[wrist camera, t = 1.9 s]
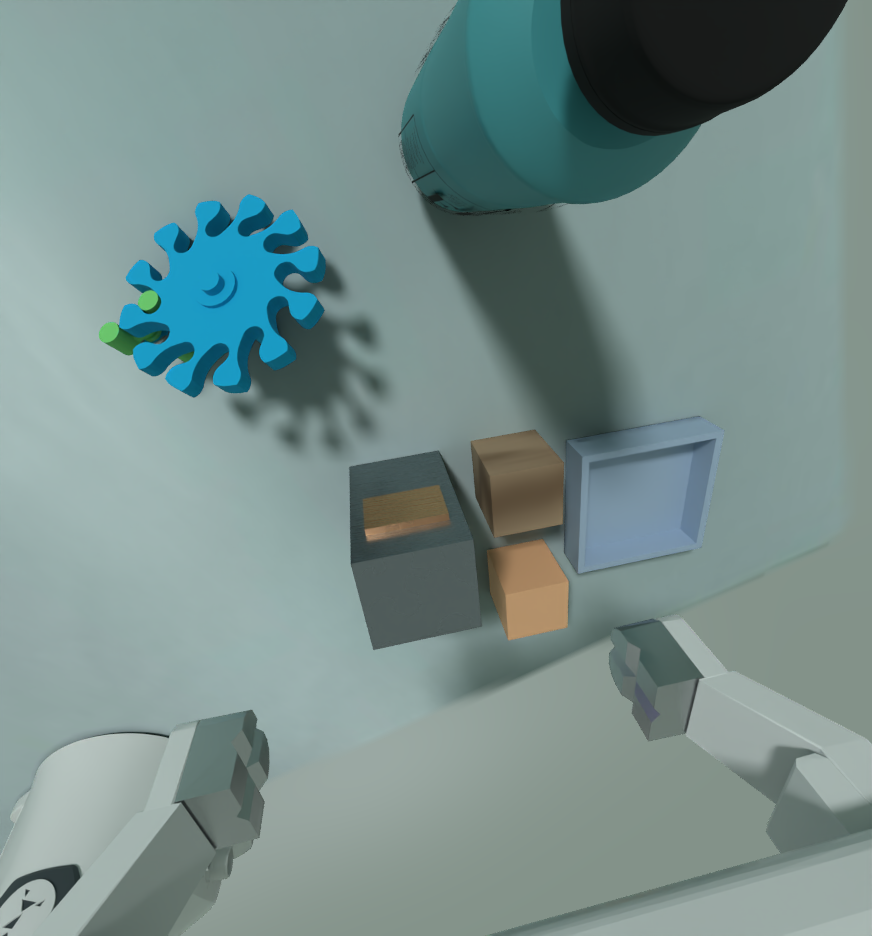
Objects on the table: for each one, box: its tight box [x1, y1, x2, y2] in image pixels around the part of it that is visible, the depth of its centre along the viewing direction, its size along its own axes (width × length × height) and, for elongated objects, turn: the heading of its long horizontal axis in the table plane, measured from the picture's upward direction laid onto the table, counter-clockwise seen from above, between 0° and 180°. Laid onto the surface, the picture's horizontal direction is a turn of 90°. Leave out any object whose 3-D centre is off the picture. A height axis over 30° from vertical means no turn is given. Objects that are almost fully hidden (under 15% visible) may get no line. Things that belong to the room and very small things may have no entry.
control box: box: [349, 451, 482, 650], centre depth 29 cm, size 7×6×10 cm
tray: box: [564, 416, 725, 574], centre depth 35 cm, size 10×10×3 cm
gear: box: [99, 194, 326, 397], centre depth 24 cm, size 11×6×10 cm
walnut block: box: [471, 430, 564, 538], centre depth 31 cm, size 4×4×5 cm
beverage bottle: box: [399, 0, 848, 216], centre depth 15 cm, size 6×7×20 cm
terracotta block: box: [487, 539, 569, 640], centre depth 36 cm, size 4×4×5 cm
